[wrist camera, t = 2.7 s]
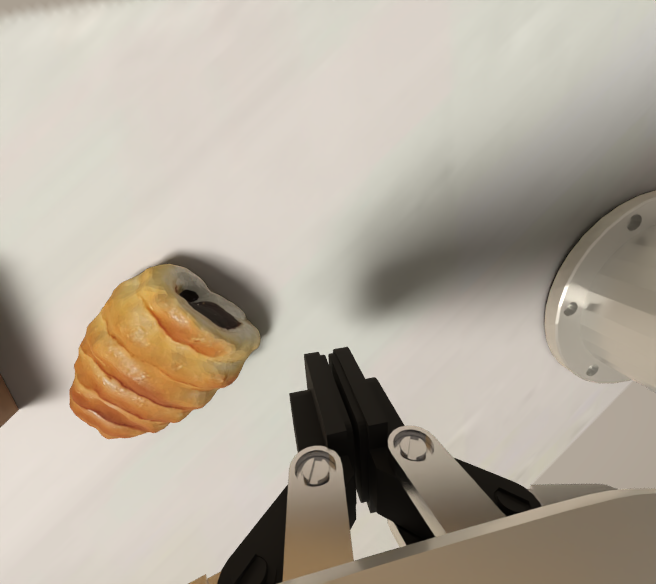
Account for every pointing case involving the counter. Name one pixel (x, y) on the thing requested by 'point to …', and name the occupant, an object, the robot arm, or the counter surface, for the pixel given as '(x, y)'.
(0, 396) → the walnut block
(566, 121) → the counter surface
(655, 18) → the counter surface
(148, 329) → the pastry
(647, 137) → the counter surface
